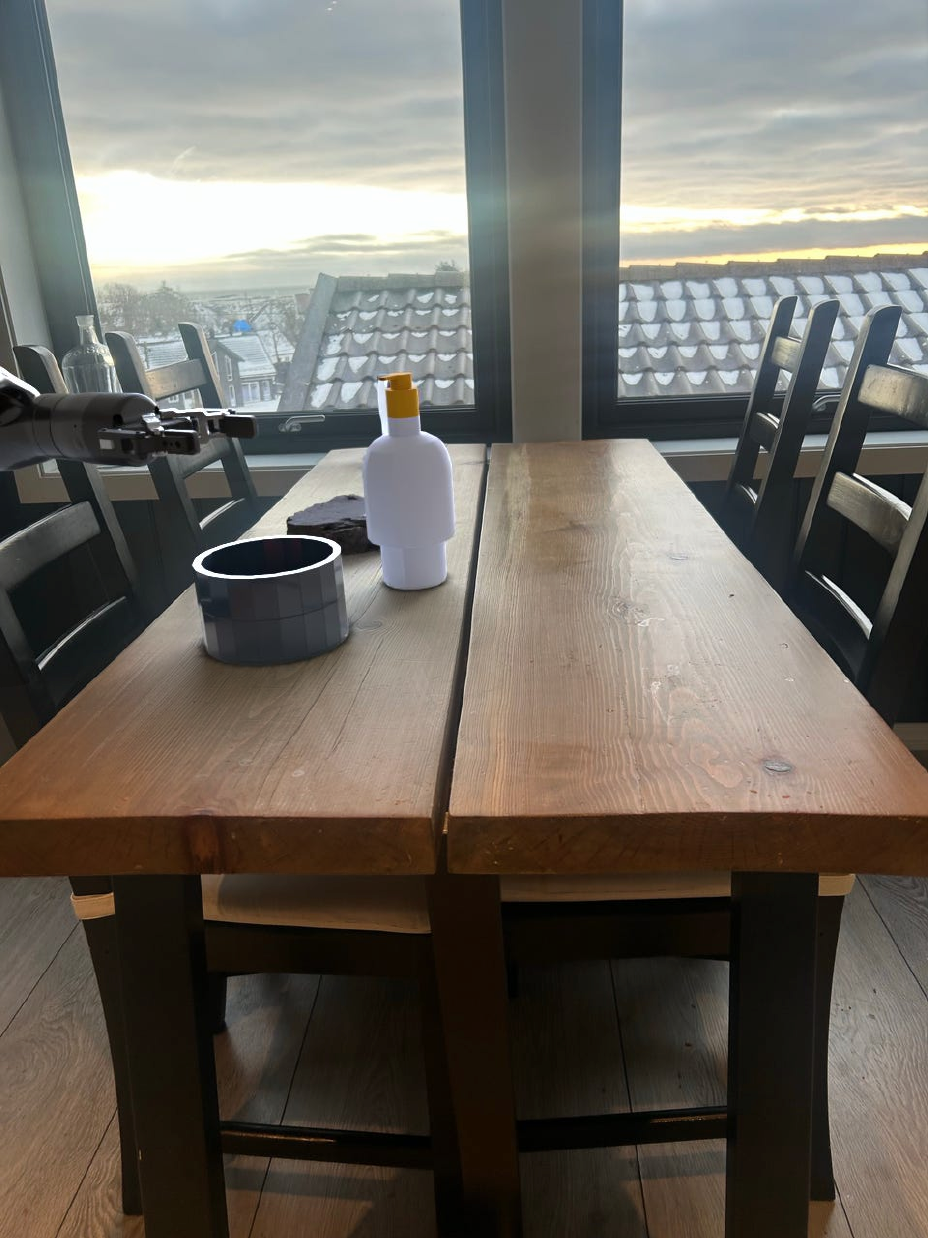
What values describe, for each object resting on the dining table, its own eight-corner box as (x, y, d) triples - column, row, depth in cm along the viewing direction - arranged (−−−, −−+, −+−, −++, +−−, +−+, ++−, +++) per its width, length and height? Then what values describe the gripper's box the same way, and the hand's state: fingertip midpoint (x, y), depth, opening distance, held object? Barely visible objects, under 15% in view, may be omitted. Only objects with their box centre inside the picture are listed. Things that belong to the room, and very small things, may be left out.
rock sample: (297, 565, 127) (293, 527, 125) (278, 535, 141) (274, 501, 139) (428, 546, 132) (426, 510, 130) (397, 519, 146) (394, 486, 144)
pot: (288, 676, 94) (277, 585, 91) (175, 653, 101) (161, 568, 98) (376, 624, 106) (369, 542, 102) (269, 607, 113) (259, 530, 109)
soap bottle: (354, 587, 118) (334, 378, 109) (410, 564, 125) (395, 366, 117) (421, 601, 112) (405, 381, 103) (476, 576, 119) (465, 369, 111)
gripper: (45, 403, 98) (169, 407, 90) (151, 382, 109) (269, 385, 102) (60, 479, 100) (182, 489, 93) (162, 451, 112) (277, 458, 104)
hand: (227, 434), depth 97 cm, fingers open, 8 cm apart
